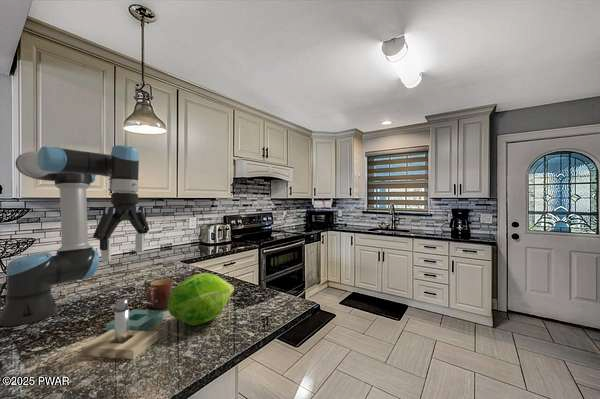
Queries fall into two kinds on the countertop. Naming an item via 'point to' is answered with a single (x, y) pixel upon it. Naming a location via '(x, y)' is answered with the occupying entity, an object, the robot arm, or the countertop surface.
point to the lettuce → (199, 298)
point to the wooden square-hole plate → (120, 345)
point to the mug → (160, 293)
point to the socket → (140, 320)
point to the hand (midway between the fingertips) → (124, 255)
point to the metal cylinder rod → (121, 321)
